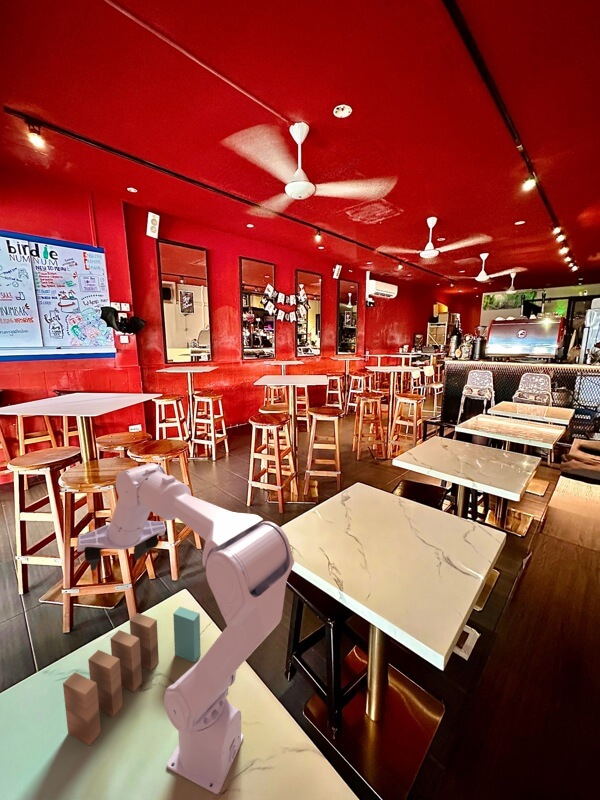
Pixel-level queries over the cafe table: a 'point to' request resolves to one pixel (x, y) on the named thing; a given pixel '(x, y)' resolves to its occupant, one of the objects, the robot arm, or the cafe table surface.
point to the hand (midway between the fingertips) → (115, 560)
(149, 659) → the domino
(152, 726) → the cafe table surface
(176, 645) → the domino
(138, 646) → the domino
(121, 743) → the cafe table surface
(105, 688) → the domino
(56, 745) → the cafe table surface
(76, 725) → the domino
